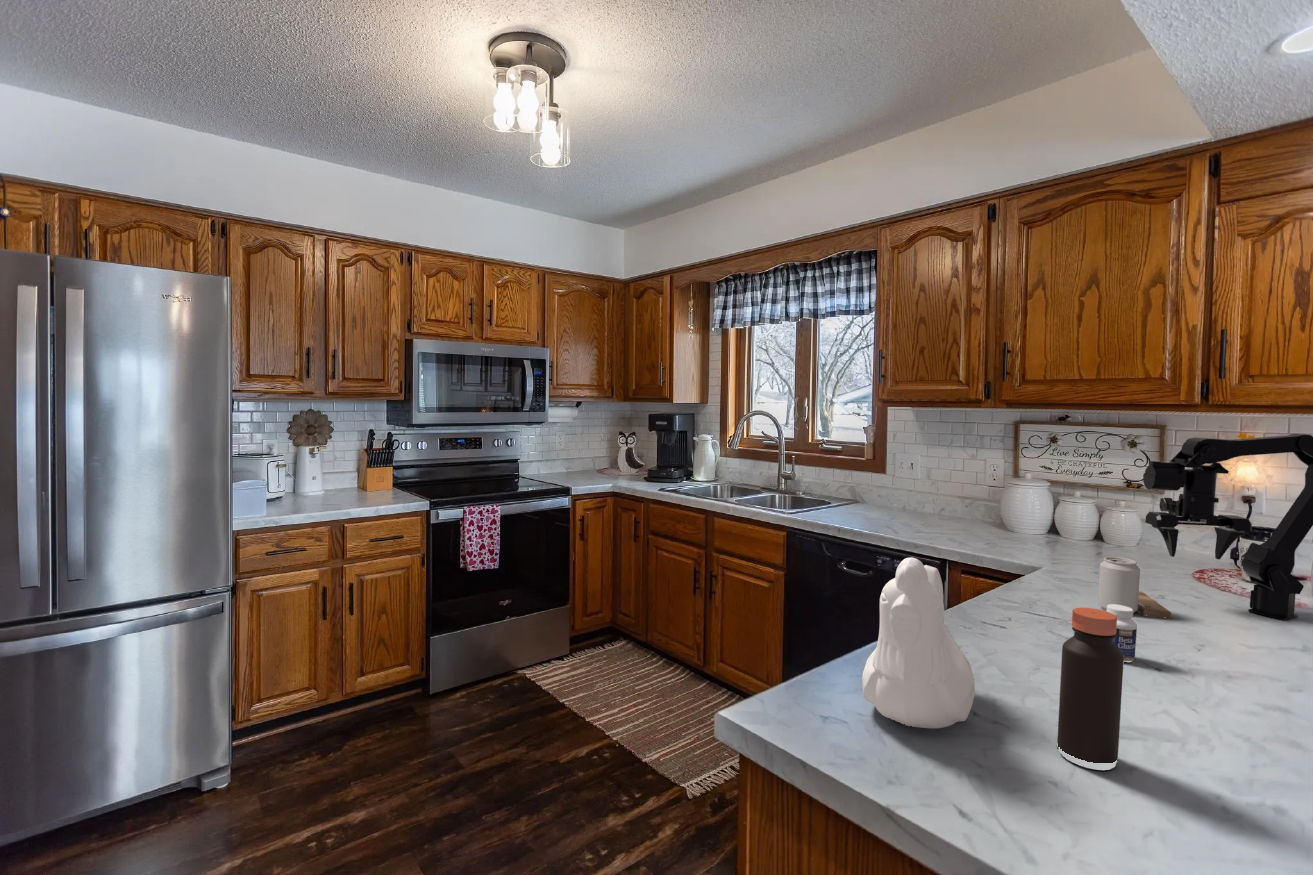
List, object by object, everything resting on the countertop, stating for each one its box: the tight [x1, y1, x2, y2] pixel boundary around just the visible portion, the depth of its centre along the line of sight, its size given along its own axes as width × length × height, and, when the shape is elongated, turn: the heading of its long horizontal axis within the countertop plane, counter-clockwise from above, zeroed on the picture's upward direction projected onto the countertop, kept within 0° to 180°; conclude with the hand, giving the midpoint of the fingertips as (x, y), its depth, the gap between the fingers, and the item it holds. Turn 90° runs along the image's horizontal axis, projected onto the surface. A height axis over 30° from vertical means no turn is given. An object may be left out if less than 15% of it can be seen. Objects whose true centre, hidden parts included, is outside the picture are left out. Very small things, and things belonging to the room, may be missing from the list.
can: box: [1097, 556, 1141, 614], centre depth 147 cm, size 8×8×12 cm
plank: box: [1136, 590, 1172, 619], centre depth 150 cm, size 16×5×2 cm, turn 161°
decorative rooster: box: [861, 557, 976, 729], centre depth 98 cm, size 25×16×25 cm, turn 135°
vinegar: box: [1056, 607, 1124, 763], centre depth 85 cm, size 7×7×20 cm
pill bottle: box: [1107, 604, 1138, 661], centre depth 119 cm, size 5×5×10 cm
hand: (1194, 557), depth 149 cm, fingers open, 9 cm apart
